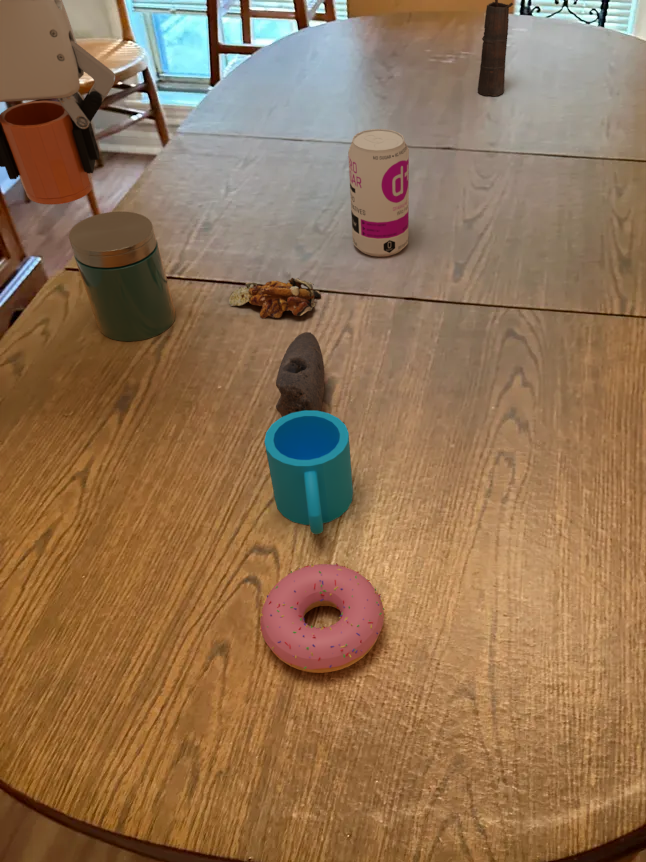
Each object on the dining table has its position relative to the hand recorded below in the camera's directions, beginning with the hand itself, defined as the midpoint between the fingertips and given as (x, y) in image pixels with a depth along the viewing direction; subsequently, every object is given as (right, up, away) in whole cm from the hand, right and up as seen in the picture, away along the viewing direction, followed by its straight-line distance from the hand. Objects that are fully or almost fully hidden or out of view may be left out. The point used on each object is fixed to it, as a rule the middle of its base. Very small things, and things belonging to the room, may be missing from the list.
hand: (53, 168), depth 75 cm
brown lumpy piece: (+16, -4, +31) cm, 35 cm away
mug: (+24, -33, +6) cm, 41 cm away
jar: (-2, -6, +29) cm, 29 cm away
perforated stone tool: (+22, -19, +18) cm, 34 cm away
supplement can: (+30, +8, +41) cm, 52 cm away
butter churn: (+52, +54, +81) cm, 110 cm away
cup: (0, -1, +2) cm, 2 cm away
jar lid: (-2, +1, +20) cm, 20 cm away
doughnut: (+26, -44, -4) cm, 51 cm away
